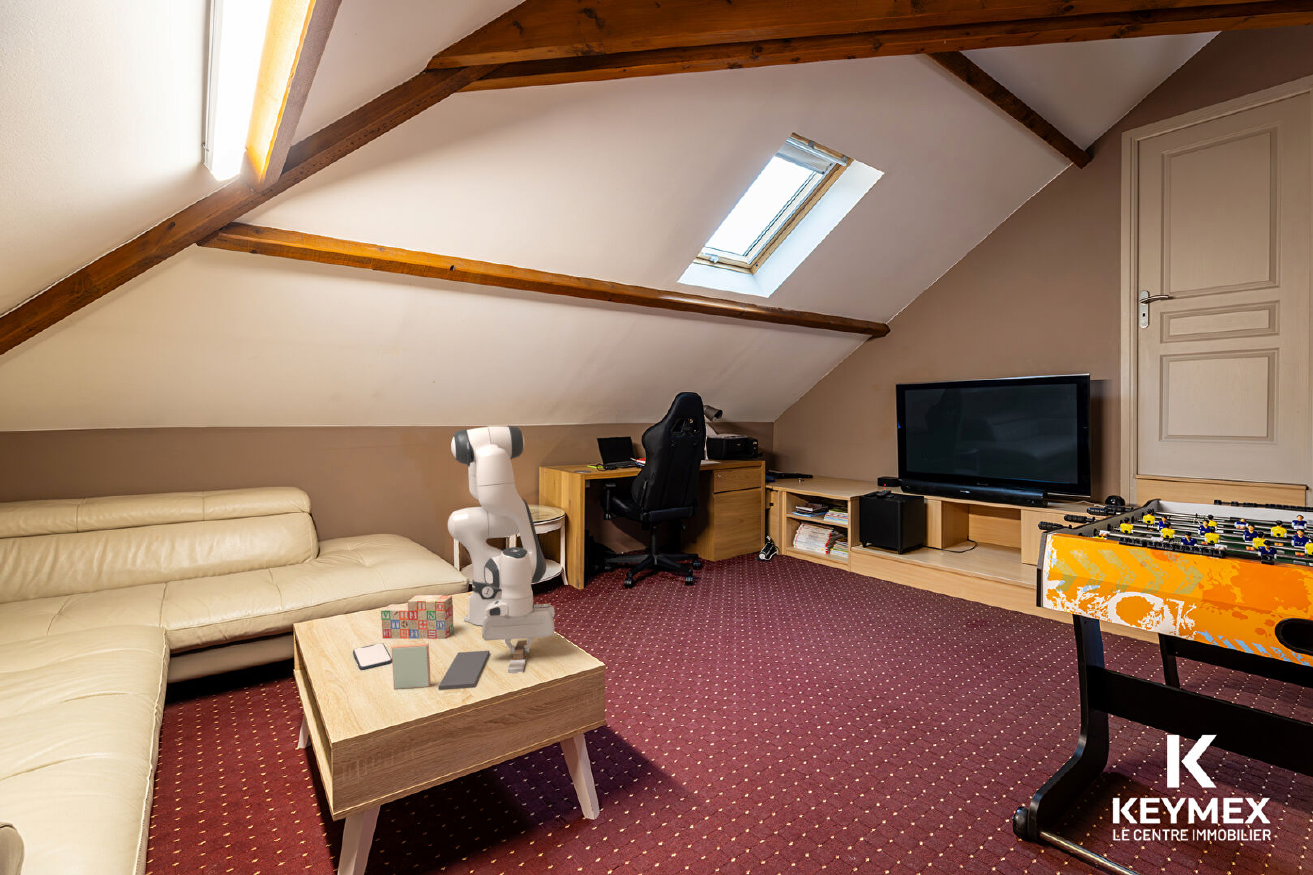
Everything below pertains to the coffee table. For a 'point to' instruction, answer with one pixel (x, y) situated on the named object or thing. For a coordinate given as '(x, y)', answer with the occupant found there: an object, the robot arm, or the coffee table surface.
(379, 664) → the smartphone
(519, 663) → the brown handled tool
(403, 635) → the stack of blocks
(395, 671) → the tile
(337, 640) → the coffee table surface
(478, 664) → the rubber mat
